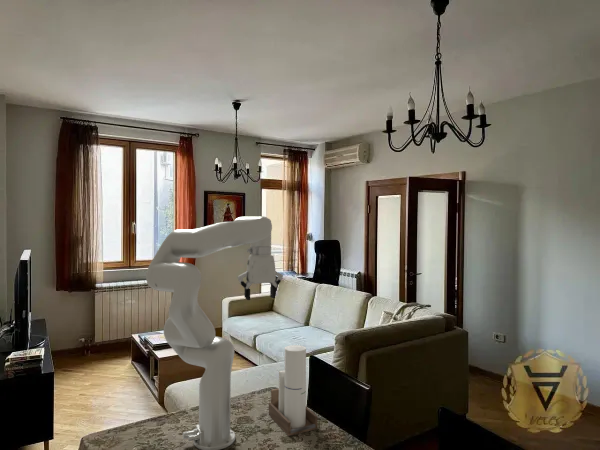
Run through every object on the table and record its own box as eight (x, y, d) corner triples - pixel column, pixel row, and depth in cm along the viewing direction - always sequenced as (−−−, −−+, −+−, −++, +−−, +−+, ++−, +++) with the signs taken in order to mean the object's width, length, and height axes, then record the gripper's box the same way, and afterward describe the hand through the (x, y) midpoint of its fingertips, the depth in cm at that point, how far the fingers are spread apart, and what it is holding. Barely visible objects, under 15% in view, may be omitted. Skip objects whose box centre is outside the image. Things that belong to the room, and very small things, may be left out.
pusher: (279, 419, 135) (280, 372, 136) (278, 418, 136) (278, 371, 137) (302, 415, 139) (302, 368, 139) (300, 413, 140) (300, 367, 140)
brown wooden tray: (288, 435, 127) (288, 408, 127) (268, 414, 141) (268, 390, 142) (317, 428, 131) (317, 402, 131) (295, 409, 146) (295, 385, 146)
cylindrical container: (281, 420, 136) (281, 346, 136) (300, 416, 139) (300, 344, 139) (289, 430, 129) (289, 352, 130) (309, 426, 132) (309, 349, 133)
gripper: (241, 252, 139) (240, 301, 139) (286, 251, 147) (286, 298, 146) (234, 251, 146) (234, 298, 145) (278, 251, 153) (278, 295, 153)
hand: (260, 298), depth 146 cm, fingers open, 9 cm apart
